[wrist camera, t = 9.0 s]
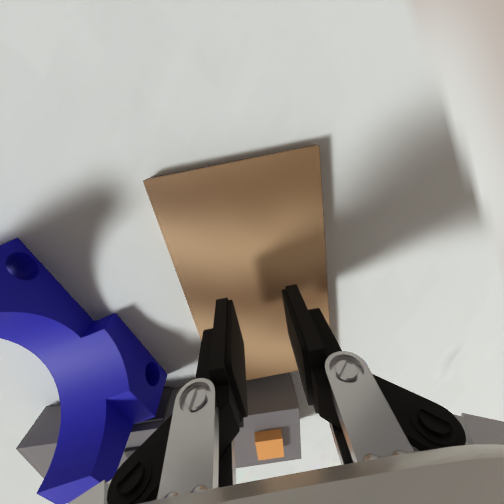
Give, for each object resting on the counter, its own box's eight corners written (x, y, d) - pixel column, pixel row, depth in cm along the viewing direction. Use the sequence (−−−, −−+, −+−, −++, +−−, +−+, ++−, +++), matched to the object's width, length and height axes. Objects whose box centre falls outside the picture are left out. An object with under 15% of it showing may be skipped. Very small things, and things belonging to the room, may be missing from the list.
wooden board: (148, 178, 11) (143, 180, 11) (313, 145, 11) (319, 145, 11) (218, 375, 17) (218, 385, 17) (327, 354, 17) (331, 364, 16)
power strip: (82, 447, 20) (53, 505, 17) (47, 399, 18) (5, 457, 14) (292, 416, 21) (303, 468, 17) (288, 365, 18) (301, 414, 15)
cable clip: (168, 372, 17) (136, 481, 12) (113, 392, 17) (59, 505, 12) (43, 225, 12) (-111, 293, 7) (-28, 258, 13) (-227, 346, 7)
